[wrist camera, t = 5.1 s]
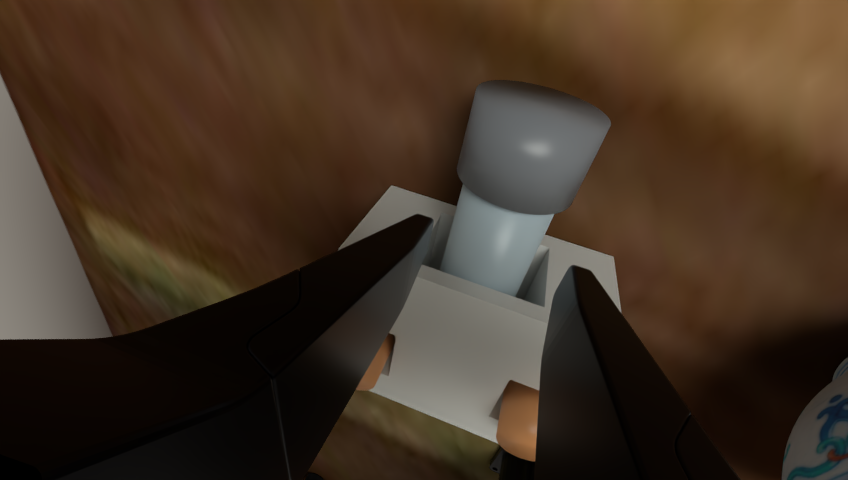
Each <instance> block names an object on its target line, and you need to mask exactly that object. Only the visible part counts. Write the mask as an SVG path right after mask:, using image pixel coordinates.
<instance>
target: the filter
mask: <svg viewBox="0 0 848 480" xmlns="http://www.w3.org/2000/svg"><path fill="white" fill-rule="evenodd" d="M305 480H323V479H322V478H321V477H320V476H318V475H316V474H314V473H310V474H308V476H307V477H306V479H305Z"/></svg>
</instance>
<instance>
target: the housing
mask: <svg viewBox="0 0 848 480" xmlns="http://www.w3.org/2000/svg"><path fill="white" fill-rule="evenodd" d="M456 208H457V206H454V205H451V204H448V203H445V202H442V201H439V200H436V199H433V198H430V197H427V196H423V195H420V194H417V193H414V192H411V191H408V190H405V189H402V188H399V187H396V186H392V185H391V186H390V188H389V189H388V190H387V191H386V192H385V194H384V195H383V196H382V197H381V198H380V199H379V201H378V202H377V203H376V204H375V205H374V207H373V208H372V209H371V210H370V211H369V213H368V214H367V215H366V216H365V217H364V219H363V220H362V221H361V222H360V223H359V225H358V226H357V227H356V228H355V229H354V231H353V232H352V233H351V234H350V235H349V237H348V238H347V239H346V240H345V241H344V243H343V244H342V245H341V246H340V247H339V249H338V250H340V249H342V248H344V247H346V246H348V245H351V244H353V243H355V242H357V241H359V240H361V239H363V238H365V237H368V236H370V235H372V234H374V233H376V232H378V231H380V230H383V229H385V228H387V227H389V226H391V225H393V224H395V223H398V222H400V221H402V220H404V219H406V218H408V217H410V216H412V215H415V214H421V215H424V216H427V217H430V218H432V219H433V220H434V224H433V229H432V233H431V238H430V242H429V246H428V250H427V253H426V256H425V258H424V260H423V263H422V265H421V268H420V270H419V272H418V275H417V277H416V279H415V282H414V284H413V287H412V289H411V291H410V294H409V296H408V298H407V301H406V303H405V305H404V307H403V309H402V311H401V313H400V314H399V316H398V318H397V320H396V321H395V323H394V325H393V327H392V328H391V330H390V332H389V333H390V334H393V335H394V336H395V344H394V347H393V349H392V351H391V353H390V355H389V357H388V359H387V361H386V363H385V366H384V368H383V370H382V372H381V374H380V376H379V378H378V380H377V382H376V385H375V386H374V387H373V388H372V389H370V390H369V391H371V392H374V393H376V394H379V395H381V396H384V397H386V398H388V399H391V400H393V401H396V402H398V403H401V404H403V405H406V406H408V407H410V408H413V409H415V410H418V411H420V412H423V413H425V414H427V415H430V416H432V417H435V418H437V419H440V420H442V421H445V422H447V423H449V424H452V425H454V426H457V427H459V428H462V429H464V430H466V431H469V432H471V433H474V434H476V435H479V436H481V437H484V438H486V439H488V440H491V441H493V442H496V443H498V442H497V439H496V433H497V427H498V421H499V415H500V409H501V403H502V397H503V391H504V389H505V387H506V385H507V383H508V382H509V381H510V380H513V381H515V382H518V383H521V384H523V385H526V386H528V387H531V388H534V389H536V390H539V386H540V369H541V358H542V352H543V347H544V341H545V336H546V331H547V326H548V321H549V315H550V310H551V305H552V300H553V296H554V293H555V291H556V289H557V287H558V285H559V284H560V282H561V280H562V278H563V277H564V275H565V273H566V271H567V270H568V268H569V267H570V266H571V265H576V266H580V267H583V268H586V269H589V270H591V271H592V272H593V274H594V275H595V277H596V278H597V279H598V281H599V282H600V284H601V285H602V286H603V288H604V289H605V291H606V292H607V294H608V295H609V296H610V298H611V299H612V301H613V302H614V303H615V305H616V306H617V308H618V309H619V311H620V312H621V306H620V299H619V292H618V285H617V278H616V271H615V264H614V257H613V256H610V255H607V254H603V253H600V252H597V251H594V250H591V249H588V248H585V247H582V246H579V245H576V244H572V243H569V242H566V241H563V240H560V239H557V238H554V237H551V236H548V235H544V237H543V239H542V241H541V243H540V245H539V248H538V250H537V252H536V254H535V256H534V258H533V260H532V262H531V264H530V267H529V269H528V271H527V273H526V275H525V277H524V279H523V281H522V283H521V285H520V288H519V290H518V292H517V294H516V296H515V297H513V296H510V295H508V294H505V293H502V292H499V291H496V290H493V289H491V288H488V287H485V286H482V285H479V284H476V283H473V282H471V281H468V280H465V279H462V278H459V277H456V276H453V275H451V274H448V273H445V272H442V271H440V267H441V264H442V260H443V256H444V252H445V249H446V245H447V241H448V238H449V234H450V230H451V226H452V223H453V219H454V215H455V212H456ZM498 444H499V443H498Z"/></svg>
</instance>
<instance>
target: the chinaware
mask: <svg viewBox="0 0 848 480" xmlns="http://www.w3.org/2000/svg"><path fill="white" fill-rule="evenodd" d="M782 480H848V357H847V358H846V359H845V360H844V361H843V362H842V363H841V364H840V365H839V366H838V367H837V369H836V371H835V373H834V375H833V380H832V382H831V383H830V384H828V385H827V386H826V387H825V388H823V389H822V390H821V391H820V392H819V393H818V394H817V395H816V396H815V397H814V398H813V399H812V400H811V401H810V402H809V404H808V405H807V406H806V407H805V409H804V410H803V411H802V413H801V414H800V416H799V417H798V419H797V421H796V423H795V425H794V427H793V429H792V431H791V433H790V436H789V439H788V442H787V445H786V449H785V454H784V459H783V467H782Z"/></svg>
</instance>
